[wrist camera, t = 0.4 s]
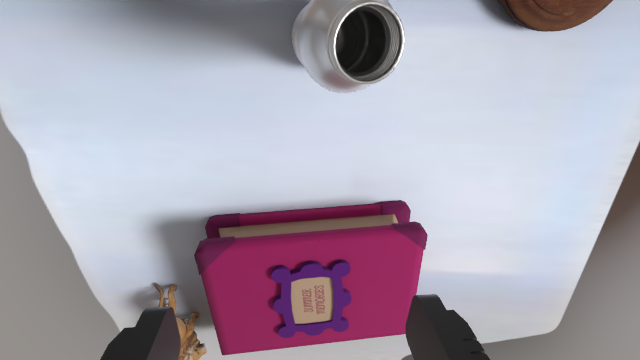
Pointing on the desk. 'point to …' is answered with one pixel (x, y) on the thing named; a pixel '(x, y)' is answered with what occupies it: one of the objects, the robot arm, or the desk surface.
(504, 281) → the desk surface
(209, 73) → the desk surface
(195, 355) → the lion figurine
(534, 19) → the brown wooden sculpture
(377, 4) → the plastic bottle
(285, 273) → the book
